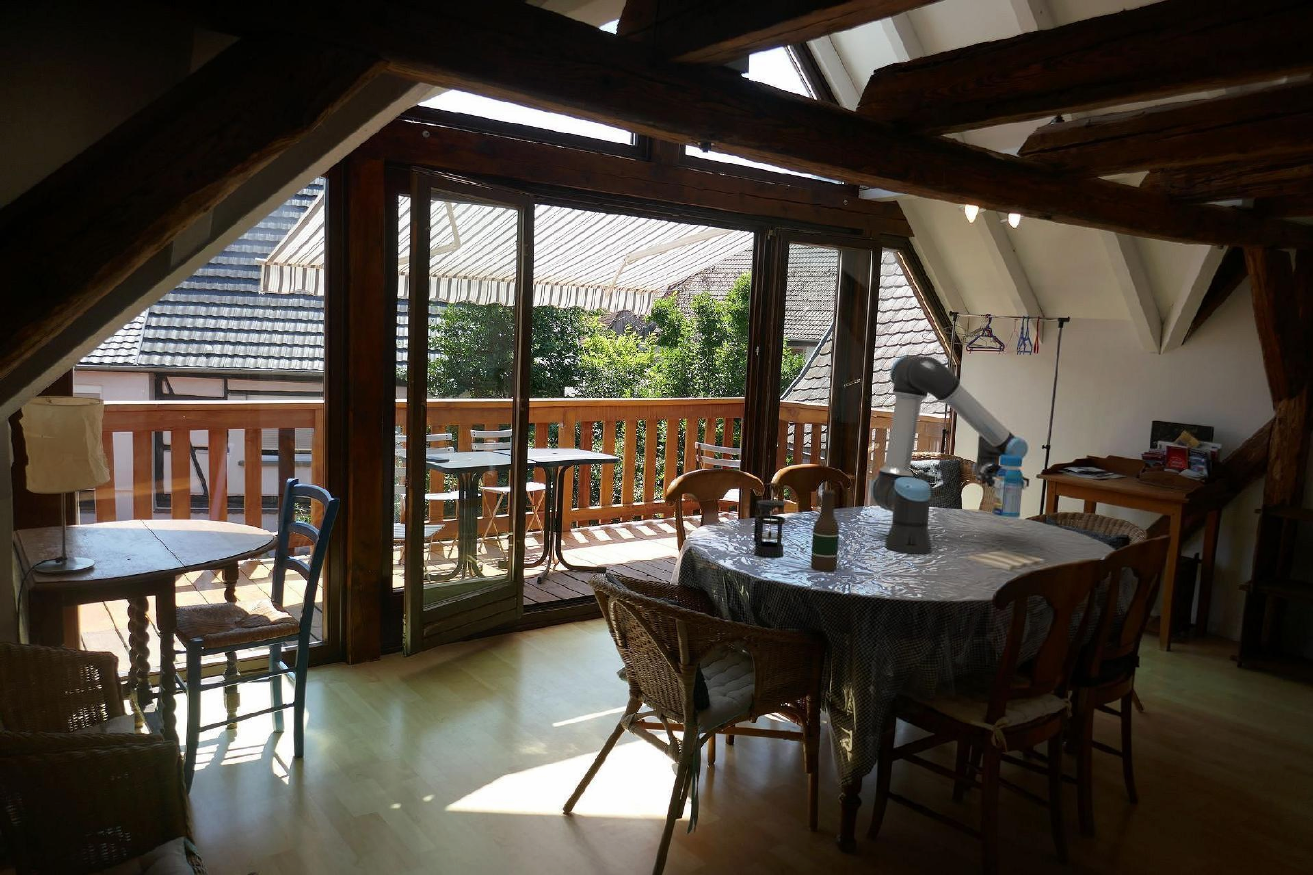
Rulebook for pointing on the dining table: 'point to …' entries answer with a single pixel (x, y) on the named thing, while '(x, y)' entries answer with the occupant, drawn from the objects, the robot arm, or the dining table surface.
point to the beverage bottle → (1009, 488)
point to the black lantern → (766, 547)
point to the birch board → (1005, 559)
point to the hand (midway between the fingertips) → (1011, 484)
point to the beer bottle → (825, 536)
